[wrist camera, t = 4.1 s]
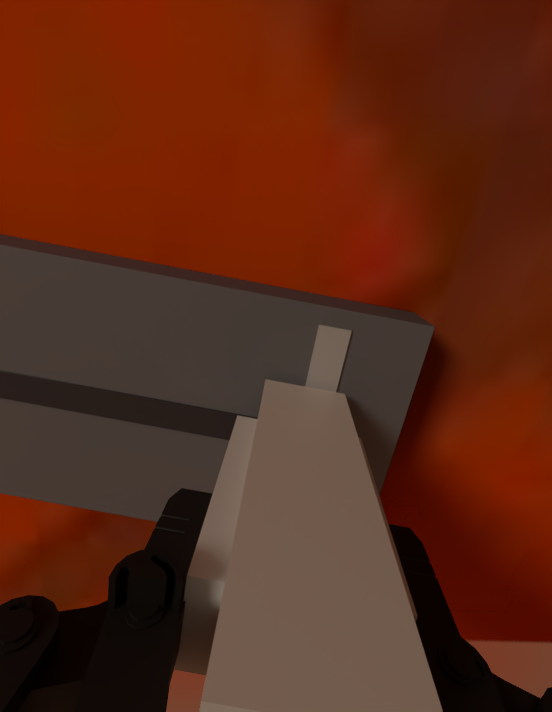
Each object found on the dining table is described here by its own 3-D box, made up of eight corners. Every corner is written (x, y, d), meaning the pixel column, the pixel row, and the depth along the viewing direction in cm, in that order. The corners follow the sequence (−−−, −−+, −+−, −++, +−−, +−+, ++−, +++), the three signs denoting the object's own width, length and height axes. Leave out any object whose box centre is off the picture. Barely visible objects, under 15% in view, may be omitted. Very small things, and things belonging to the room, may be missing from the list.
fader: (344, 393, 14) (453, 745, 4) (316, 502, 15) (350, 931, 6) (265, 379, 14) (201, 701, 4) (245, 489, 15) (165, 900, 6)
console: (414, 312, 16) (435, 327, 13) (351, 518, 19) (359, 560, 17) (-126, 210, 16) (-206, 206, 13) (-91, 437, 19) (-148, 468, 17)
